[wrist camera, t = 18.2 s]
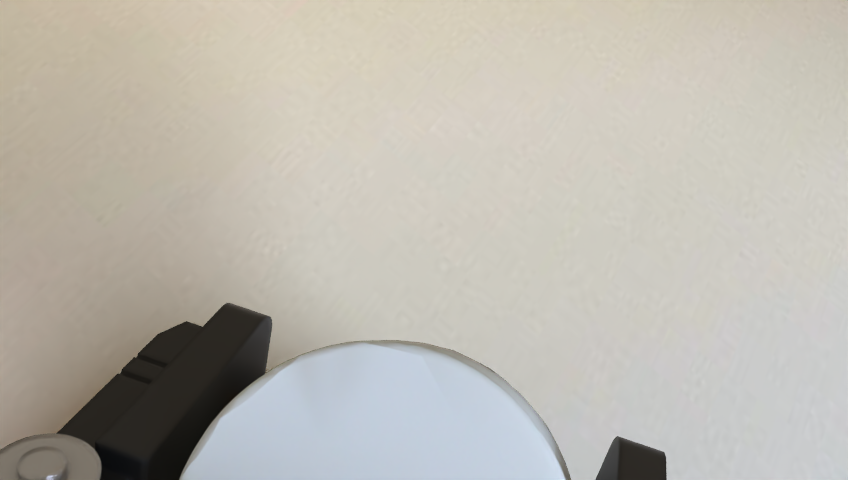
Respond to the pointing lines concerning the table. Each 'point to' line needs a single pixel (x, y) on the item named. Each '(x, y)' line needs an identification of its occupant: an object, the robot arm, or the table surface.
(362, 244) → the table surface
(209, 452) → the pill bottle
